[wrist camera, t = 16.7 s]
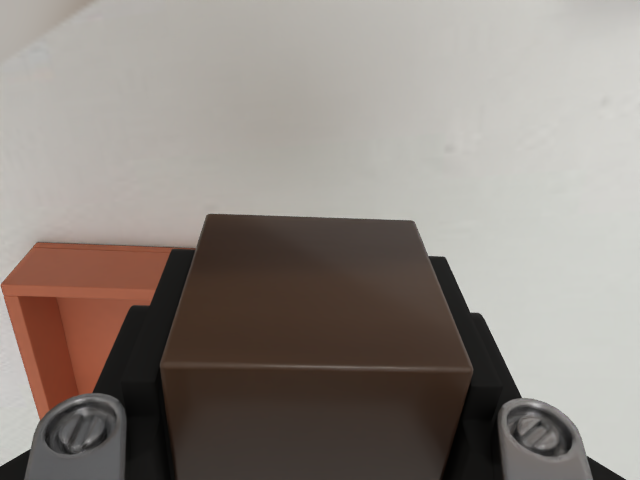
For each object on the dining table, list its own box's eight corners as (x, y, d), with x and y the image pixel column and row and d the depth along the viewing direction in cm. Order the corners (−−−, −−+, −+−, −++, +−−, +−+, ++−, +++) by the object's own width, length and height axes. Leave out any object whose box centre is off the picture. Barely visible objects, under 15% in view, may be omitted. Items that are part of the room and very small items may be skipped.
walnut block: (205, 211, 11) (157, 364, 7) (415, 218, 11) (477, 369, 7) (215, 366, 13) (182, 545, 9) (389, 369, 14) (425, 544, 10)
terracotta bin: (36, 241, 25) (-1, 284, 22) (253, 250, 25) (247, 292, 22) (76, 408, 30) (51, 460, 27) (253, 411, 31) (248, 463, 28)
